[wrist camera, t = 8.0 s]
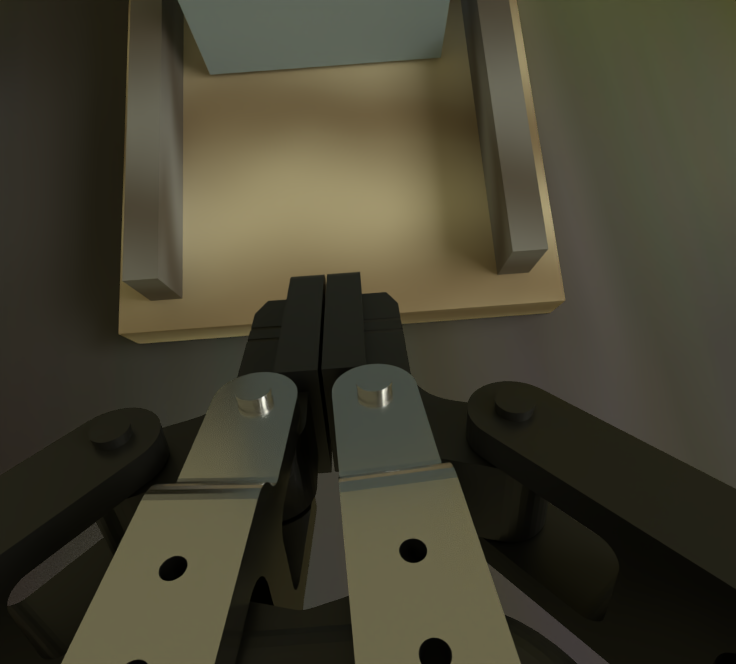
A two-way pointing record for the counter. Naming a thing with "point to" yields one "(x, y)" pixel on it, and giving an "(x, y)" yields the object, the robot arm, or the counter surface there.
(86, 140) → the counter surface
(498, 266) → the beige wooden tray
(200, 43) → the grey rectangular block
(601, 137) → the counter surface
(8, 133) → the counter surface
